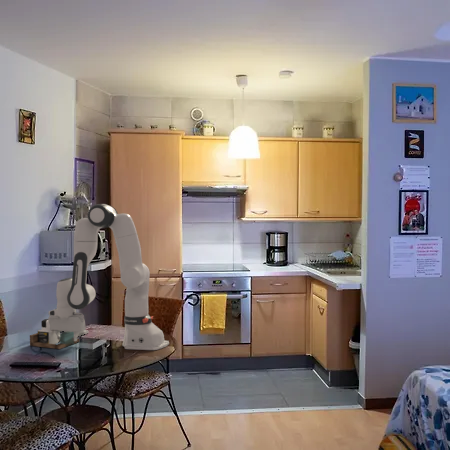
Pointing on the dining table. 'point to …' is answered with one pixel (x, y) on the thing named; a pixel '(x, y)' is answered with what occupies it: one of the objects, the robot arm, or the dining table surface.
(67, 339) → the sled
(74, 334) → the broken sled
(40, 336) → the medicine bottle
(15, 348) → the dining table surface
